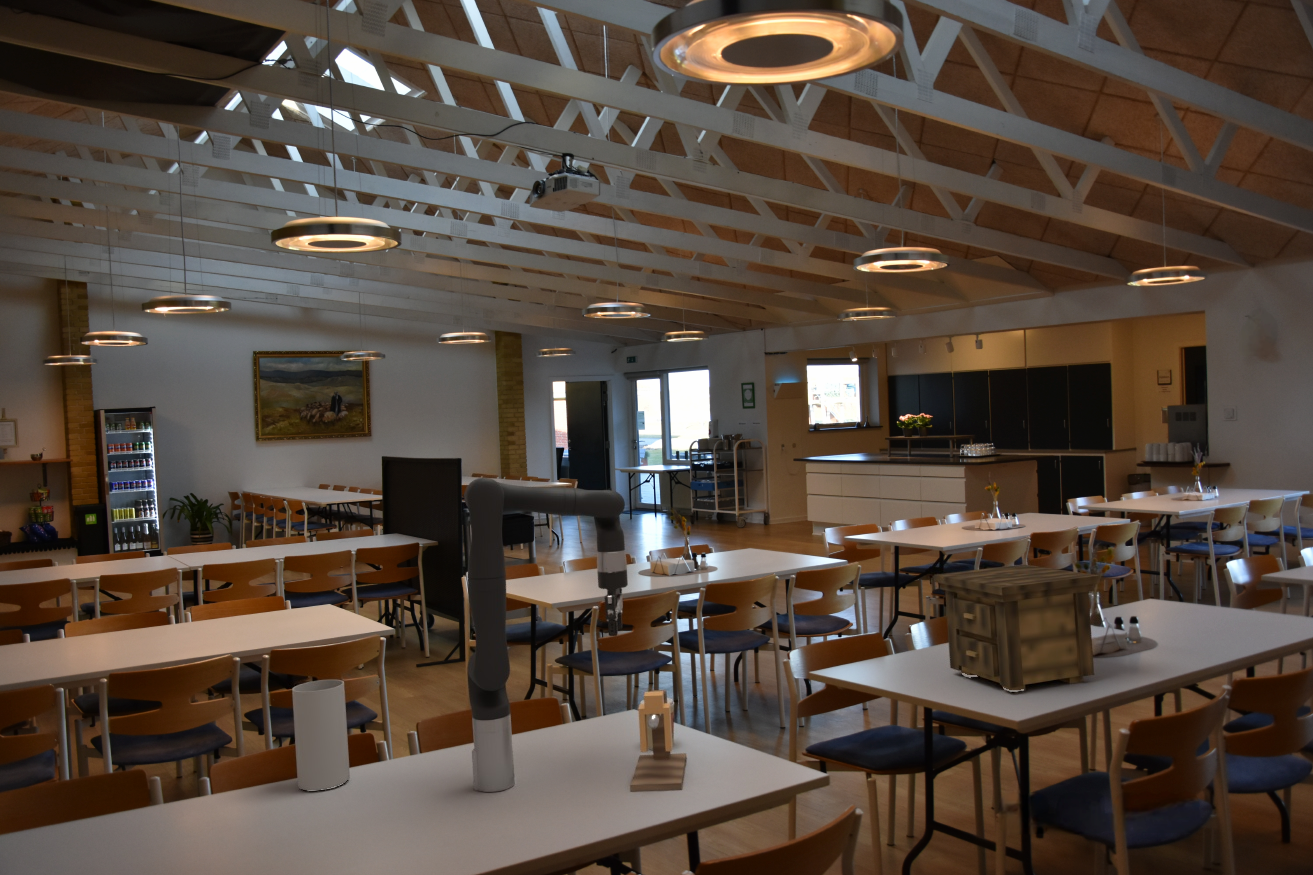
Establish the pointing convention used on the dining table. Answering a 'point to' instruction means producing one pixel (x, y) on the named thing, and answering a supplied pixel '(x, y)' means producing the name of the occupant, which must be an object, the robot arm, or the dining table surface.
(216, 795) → the dining table surface
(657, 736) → the hook rack
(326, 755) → the cylinder vase
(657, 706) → the forked wooden block
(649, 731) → the coffee cup
